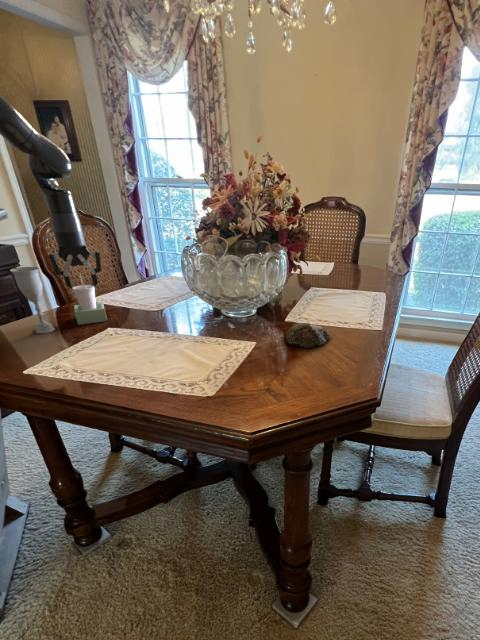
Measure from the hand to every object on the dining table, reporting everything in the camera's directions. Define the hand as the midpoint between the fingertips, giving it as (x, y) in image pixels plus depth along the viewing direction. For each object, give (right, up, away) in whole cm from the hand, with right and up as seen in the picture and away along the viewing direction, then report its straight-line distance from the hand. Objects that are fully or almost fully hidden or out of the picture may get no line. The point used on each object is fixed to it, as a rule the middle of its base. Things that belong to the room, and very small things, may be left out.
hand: (83, 287), depth 120 cm
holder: (0, -9, +5) cm, 11 cm away
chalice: (-9, -15, -5) cm, 18 cm away
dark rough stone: (+71, -19, -10) cm, 74 cm away
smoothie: (0, -9, +5) cm, 10 cm away
